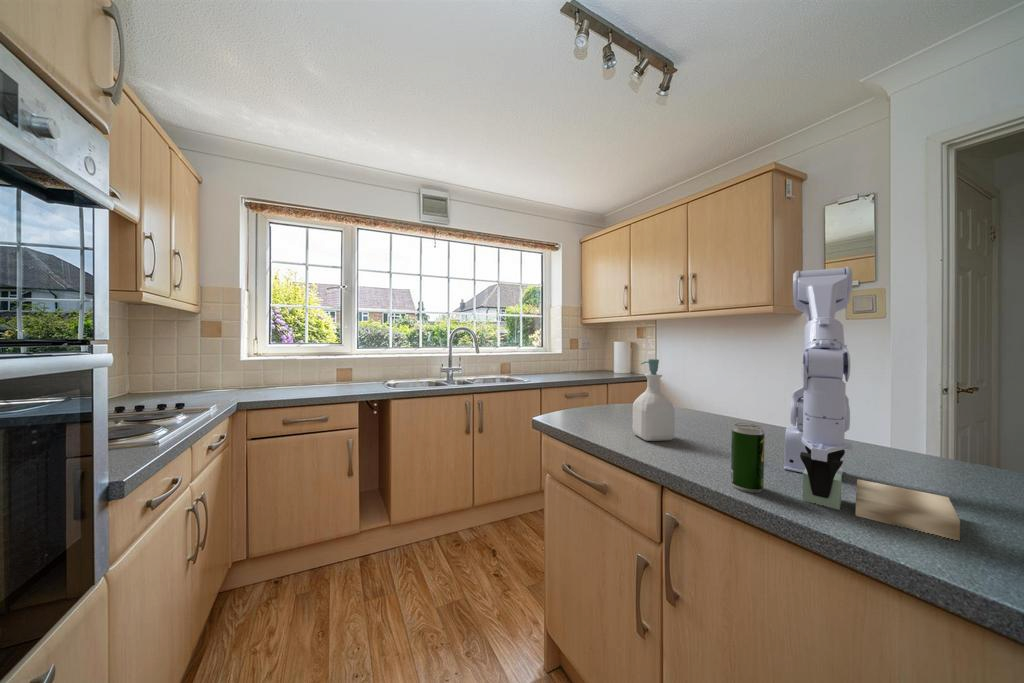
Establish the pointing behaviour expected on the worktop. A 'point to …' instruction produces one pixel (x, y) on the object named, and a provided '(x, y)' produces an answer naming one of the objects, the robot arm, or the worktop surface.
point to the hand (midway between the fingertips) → (822, 491)
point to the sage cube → (831, 501)
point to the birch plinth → (907, 509)
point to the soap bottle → (653, 410)
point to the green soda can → (747, 457)
